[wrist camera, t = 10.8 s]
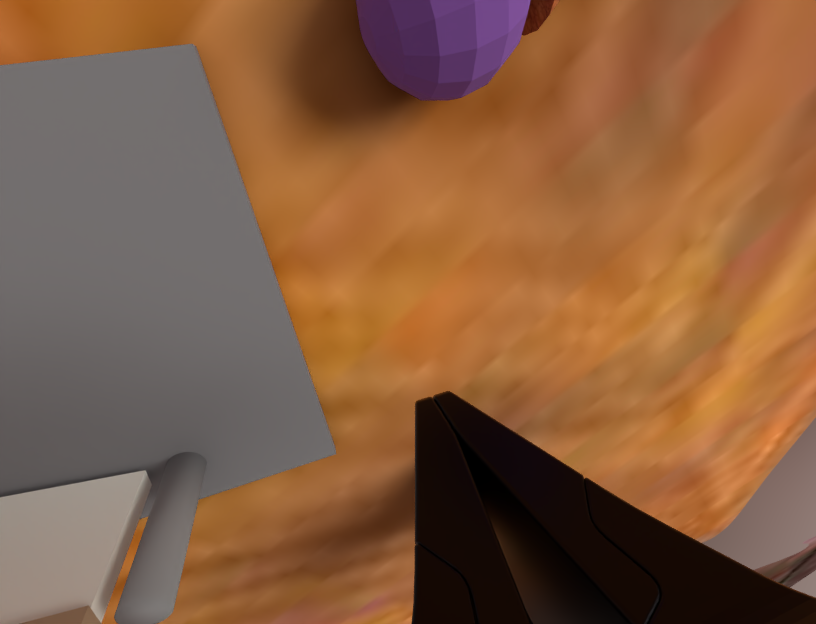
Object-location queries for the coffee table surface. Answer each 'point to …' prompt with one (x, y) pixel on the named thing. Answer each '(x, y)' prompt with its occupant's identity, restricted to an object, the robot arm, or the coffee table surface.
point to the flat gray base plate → (139, 302)
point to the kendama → (445, 41)
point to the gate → (67, 548)
